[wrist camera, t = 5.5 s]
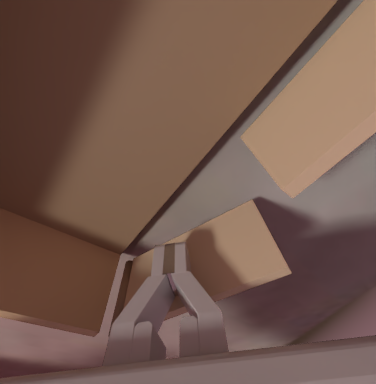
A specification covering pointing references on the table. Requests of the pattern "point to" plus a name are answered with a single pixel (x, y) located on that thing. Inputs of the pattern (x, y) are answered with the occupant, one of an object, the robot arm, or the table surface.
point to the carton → (115, 129)
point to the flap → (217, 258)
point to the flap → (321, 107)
